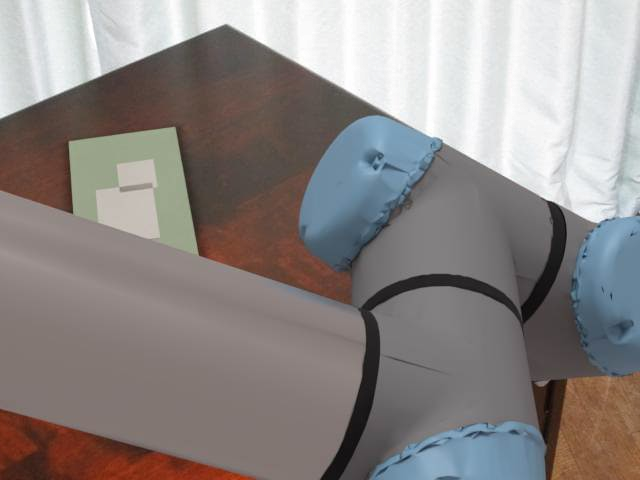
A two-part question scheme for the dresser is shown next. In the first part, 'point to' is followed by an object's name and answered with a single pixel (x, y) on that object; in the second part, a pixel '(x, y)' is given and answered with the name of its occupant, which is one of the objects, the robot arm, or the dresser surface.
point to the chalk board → (134, 185)
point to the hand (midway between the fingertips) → (321, 352)
